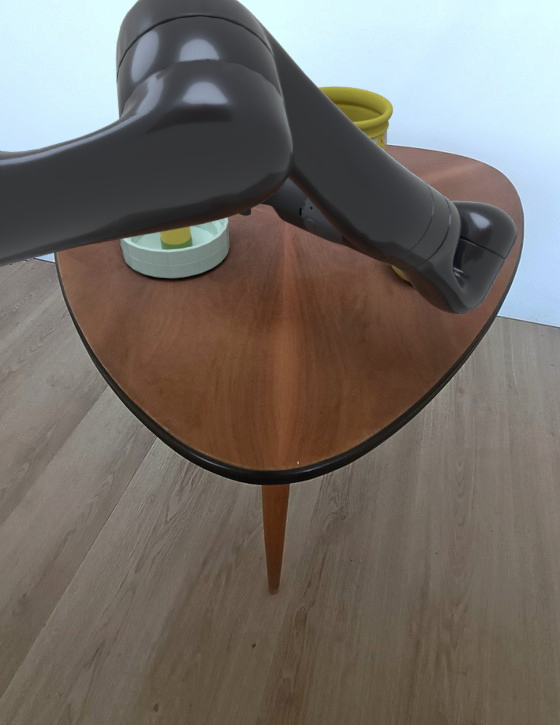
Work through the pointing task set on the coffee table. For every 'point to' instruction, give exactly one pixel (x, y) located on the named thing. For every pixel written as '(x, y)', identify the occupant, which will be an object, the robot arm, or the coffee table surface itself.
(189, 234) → the corn cob
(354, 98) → the flowerpot
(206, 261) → the basin
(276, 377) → the coffee table surface
